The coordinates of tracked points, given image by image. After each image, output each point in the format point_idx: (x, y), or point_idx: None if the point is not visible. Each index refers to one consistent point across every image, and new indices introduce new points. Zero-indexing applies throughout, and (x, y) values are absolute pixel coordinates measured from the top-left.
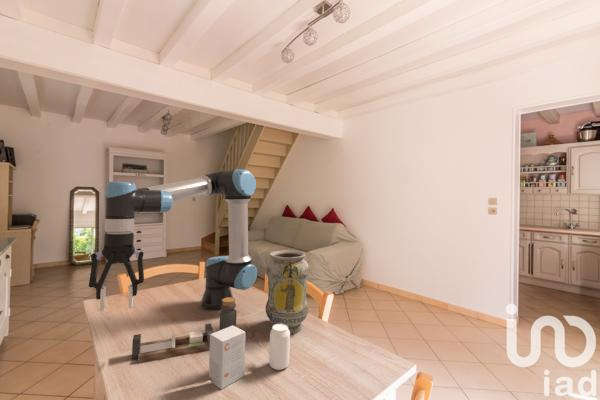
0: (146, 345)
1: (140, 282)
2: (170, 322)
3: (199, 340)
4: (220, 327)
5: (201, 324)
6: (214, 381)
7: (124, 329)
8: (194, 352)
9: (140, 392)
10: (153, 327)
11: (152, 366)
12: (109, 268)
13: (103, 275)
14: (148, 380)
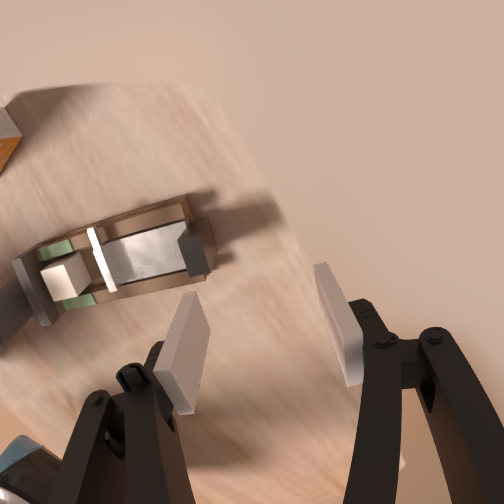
0: (182, 264)
1: (103, 394)
2: (196, 402)
3: (52, 264)
4: (16, 300)
5: (115, 379)
6: (10, 121)
7: (301, 383)
8: (65, 237)
9: (139, 88)
10: (230, 386)
11: (149, 194)
12: (344, 500)
13: (381, 422)
14: (136, 133)
